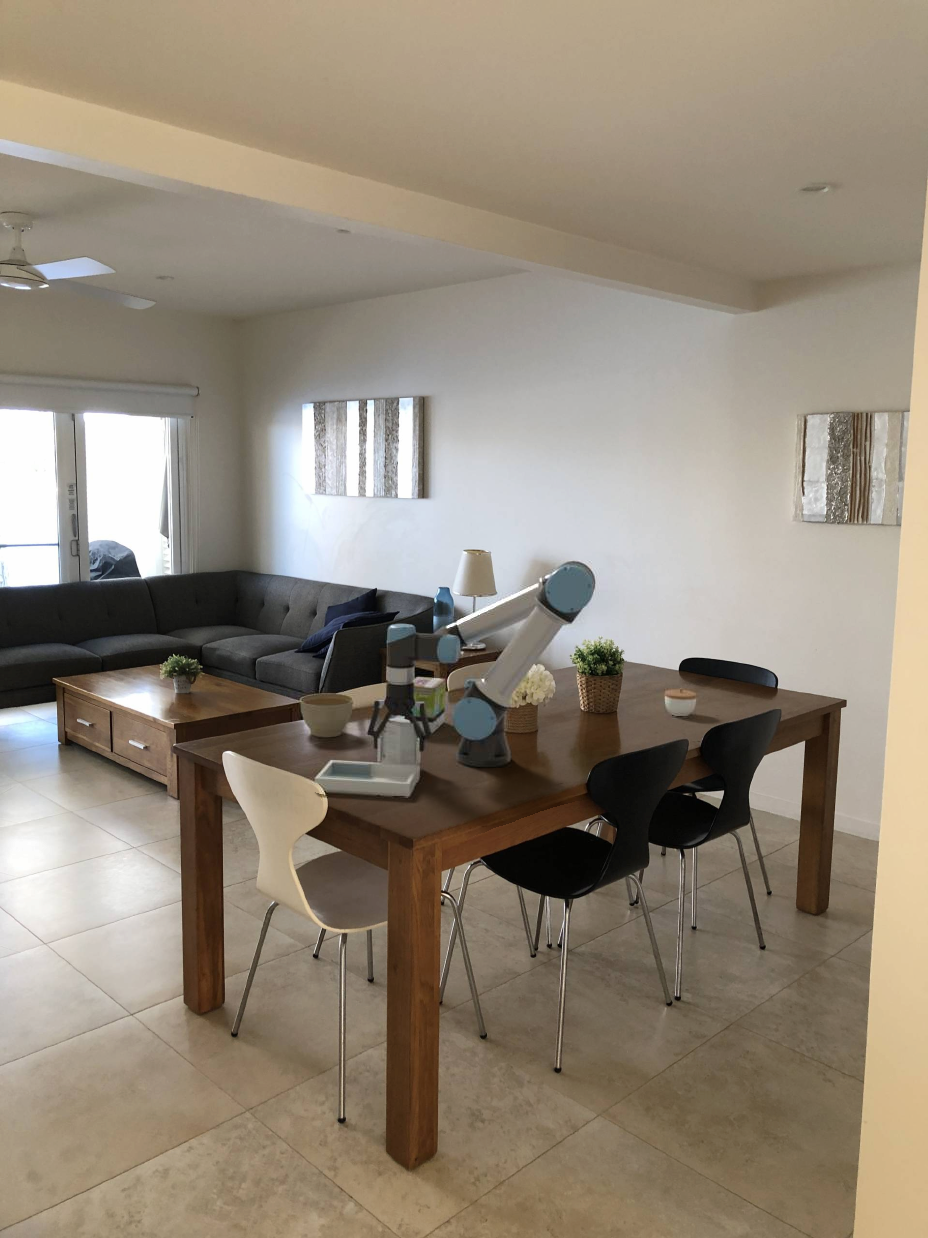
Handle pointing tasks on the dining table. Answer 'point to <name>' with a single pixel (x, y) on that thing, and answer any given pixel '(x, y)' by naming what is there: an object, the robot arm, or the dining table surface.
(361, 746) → the dining table surface
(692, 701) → the lidded jar
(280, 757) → the dining table surface
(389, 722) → the small box
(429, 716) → the tea box
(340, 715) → the planter bowl
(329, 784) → the tray
